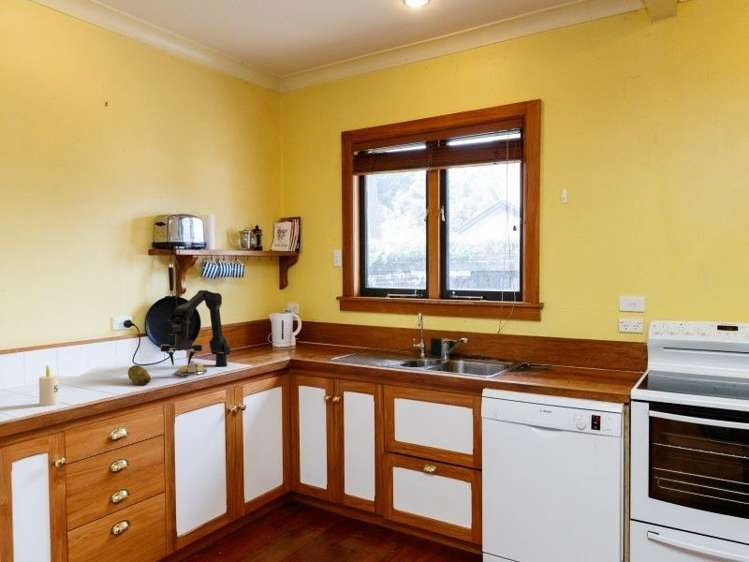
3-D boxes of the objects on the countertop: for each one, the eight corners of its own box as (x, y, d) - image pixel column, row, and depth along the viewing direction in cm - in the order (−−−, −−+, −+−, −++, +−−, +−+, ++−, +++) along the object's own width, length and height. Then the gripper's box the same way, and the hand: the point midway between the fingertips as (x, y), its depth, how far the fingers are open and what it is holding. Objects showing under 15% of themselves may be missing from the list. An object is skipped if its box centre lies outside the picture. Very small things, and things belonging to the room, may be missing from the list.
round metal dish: (178, 370, 289) (178, 365, 289) (208, 369, 291) (208, 364, 291) (172, 376, 274) (172, 370, 274) (204, 375, 276) (204, 369, 276)
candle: (50, 406, 216) (50, 367, 215) (35, 405, 217) (35, 366, 217) (62, 402, 222) (62, 364, 222) (47, 401, 223) (47, 363, 223)
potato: (132, 387, 250) (132, 369, 249) (126, 382, 260) (126, 364, 260) (151, 385, 254) (151, 367, 254) (145, 380, 265) (145, 363, 265)
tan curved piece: (178, 368, 286) (178, 359, 286) (202, 367, 290) (202, 357, 290) (180, 375, 269) (180, 365, 269) (204, 373, 273) (204, 363, 273)
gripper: (162, 335, 262) (160, 369, 262) (203, 335, 270) (202, 367, 270) (160, 332, 272) (159, 365, 273) (201, 332, 280) (200, 364, 280)
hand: (180, 365), depth 273 cm, fingers open, 7 cm apart
